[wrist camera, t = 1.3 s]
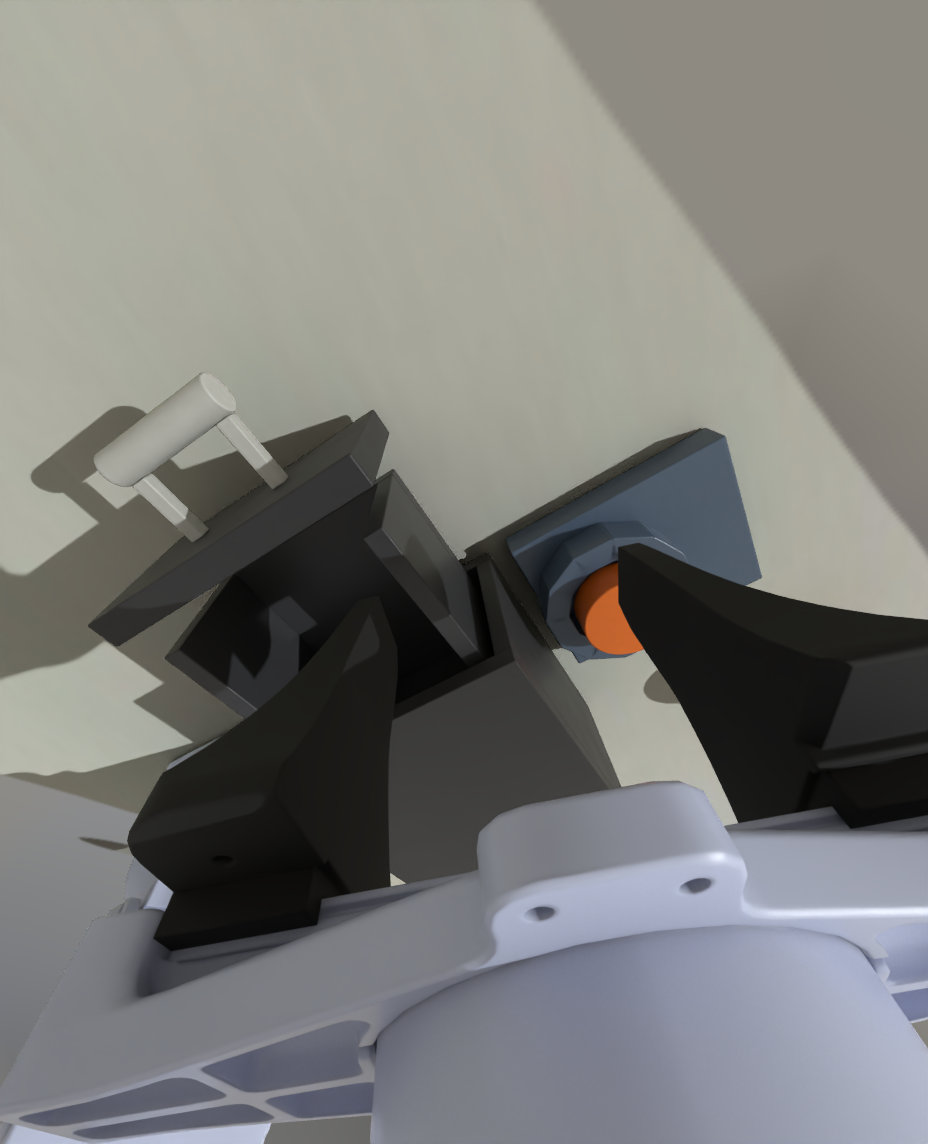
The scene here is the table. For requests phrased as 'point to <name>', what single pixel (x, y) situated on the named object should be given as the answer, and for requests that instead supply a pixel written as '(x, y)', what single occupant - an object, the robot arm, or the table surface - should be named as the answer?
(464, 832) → the charcoal grey box
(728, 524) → the panel
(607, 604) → the button
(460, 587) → the drawer
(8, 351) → the table surface
